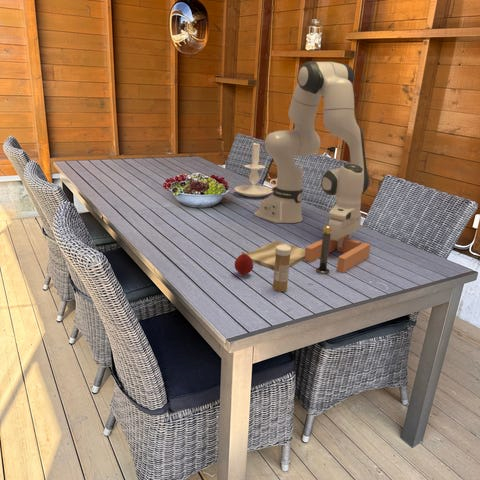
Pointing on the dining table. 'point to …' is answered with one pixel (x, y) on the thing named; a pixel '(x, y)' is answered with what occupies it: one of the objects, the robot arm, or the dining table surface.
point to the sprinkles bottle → (281, 267)
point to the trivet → (268, 255)
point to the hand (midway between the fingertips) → (342, 245)
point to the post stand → (324, 250)
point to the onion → (243, 264)
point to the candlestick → (255, 177)
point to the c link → (351, 248)
